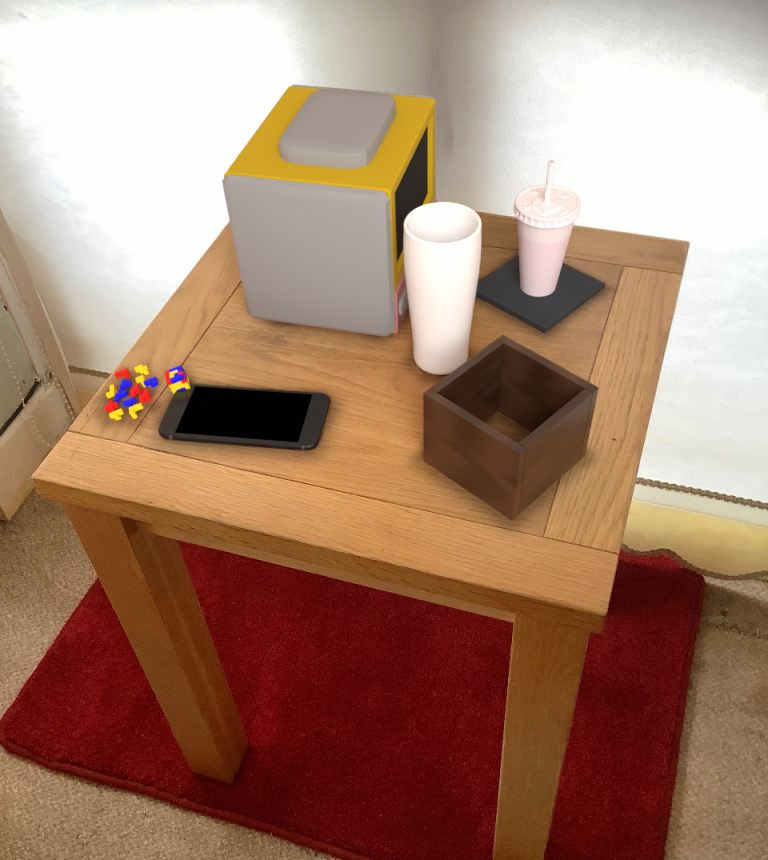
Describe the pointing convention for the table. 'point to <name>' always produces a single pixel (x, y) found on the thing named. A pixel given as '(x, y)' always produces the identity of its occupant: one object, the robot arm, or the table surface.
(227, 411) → the smartphone
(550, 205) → the smoothie
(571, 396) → the holder
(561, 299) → the mat
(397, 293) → the alarm clock
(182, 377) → the building blocks
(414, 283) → the drinking glass
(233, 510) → the table surface
